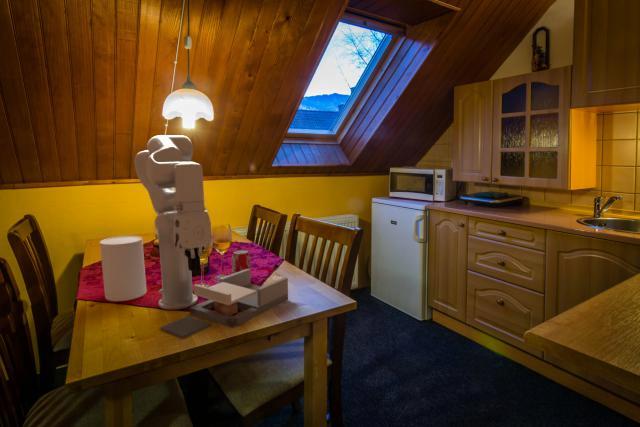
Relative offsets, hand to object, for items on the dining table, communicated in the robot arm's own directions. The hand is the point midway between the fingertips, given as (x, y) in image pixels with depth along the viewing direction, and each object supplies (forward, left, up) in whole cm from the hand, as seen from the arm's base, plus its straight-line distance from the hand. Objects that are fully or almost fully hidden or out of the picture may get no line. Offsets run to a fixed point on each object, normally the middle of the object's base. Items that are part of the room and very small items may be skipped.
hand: (194, 270), depth 119 cm
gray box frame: (0, +18, -17) cm, 25 cm away
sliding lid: (0, +12, -11) cm, 16 cm away
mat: (-2, -2, -17) cm, 18 cm away
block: (0, +12, -17) cm, 21 cm away
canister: (-43, +4, -18) cm, 47 cm away
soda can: (-18, +37, -18) cm, 45 cm away
